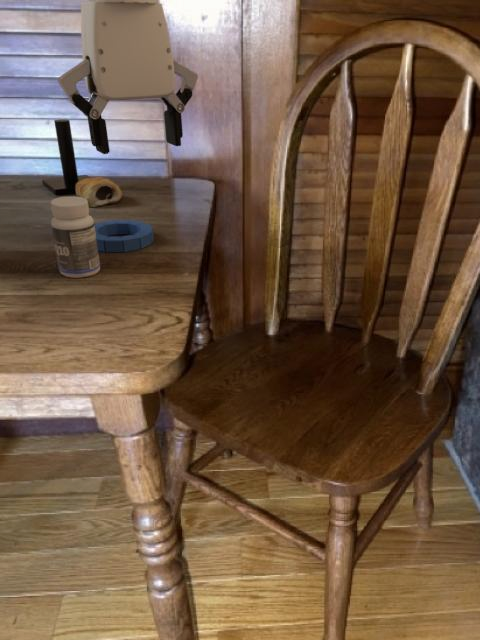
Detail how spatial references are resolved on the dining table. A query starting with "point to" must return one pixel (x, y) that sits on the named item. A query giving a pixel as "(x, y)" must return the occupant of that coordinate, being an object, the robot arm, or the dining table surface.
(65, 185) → the black upright rod
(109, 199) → the pastry
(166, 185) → the dining table surface
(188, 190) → the dining table surface
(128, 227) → the ring
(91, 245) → the pill bottle
